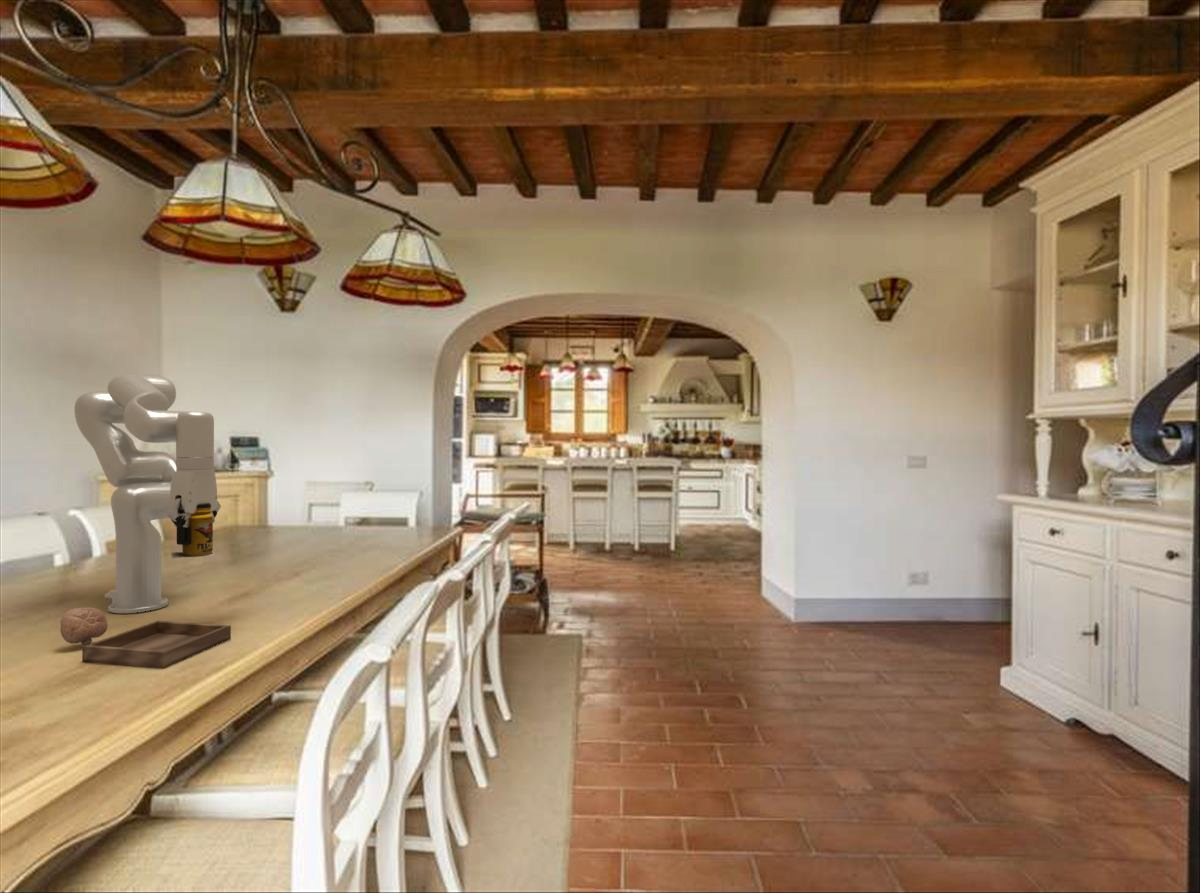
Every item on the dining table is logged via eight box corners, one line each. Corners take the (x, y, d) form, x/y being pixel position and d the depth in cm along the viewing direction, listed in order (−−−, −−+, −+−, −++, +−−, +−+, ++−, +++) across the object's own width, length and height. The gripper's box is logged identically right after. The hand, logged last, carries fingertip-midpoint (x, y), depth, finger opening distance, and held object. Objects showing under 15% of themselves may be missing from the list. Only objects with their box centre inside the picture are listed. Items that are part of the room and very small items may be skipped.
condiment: (215, 555, 152) (215, 504, 152) (171, 559, 147) (171, 505, 147) (213, 550, 158) (213, 501, 158) (171, 554, 153) (171, 502, 153)
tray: (82, 661, 128) (82, 646, 128) (157, 634, 146) (157, 620, 146) (164, 668, 125) (164, 652, 125) (230, 639, 143) (230, 625, 143)
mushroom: (110, 639, 142) (110, 602, 142) (103, 648, 136) (103, 609, 136) (65, 644, 138) (65, 606, 138) (57, 653, 133) (57, 613, 133)
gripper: (207, 463, 162) (207, 536, 162) (150, 466, 145) (150, 547, 145) (235, 463, 161) (235, 537, 161) (181, 467, 144) (181, 549, 144)
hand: (195, 541), depth 153 cm, fingers closed on condiment, 6 cm apart
